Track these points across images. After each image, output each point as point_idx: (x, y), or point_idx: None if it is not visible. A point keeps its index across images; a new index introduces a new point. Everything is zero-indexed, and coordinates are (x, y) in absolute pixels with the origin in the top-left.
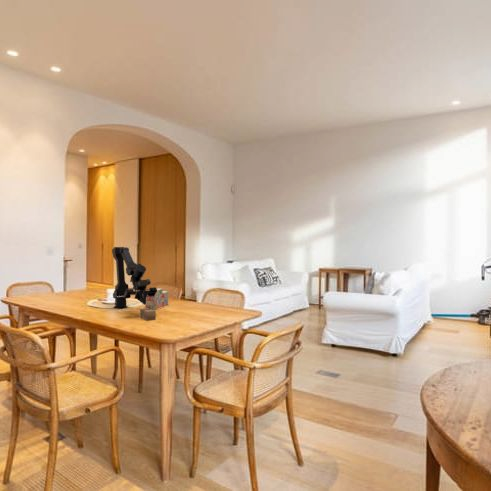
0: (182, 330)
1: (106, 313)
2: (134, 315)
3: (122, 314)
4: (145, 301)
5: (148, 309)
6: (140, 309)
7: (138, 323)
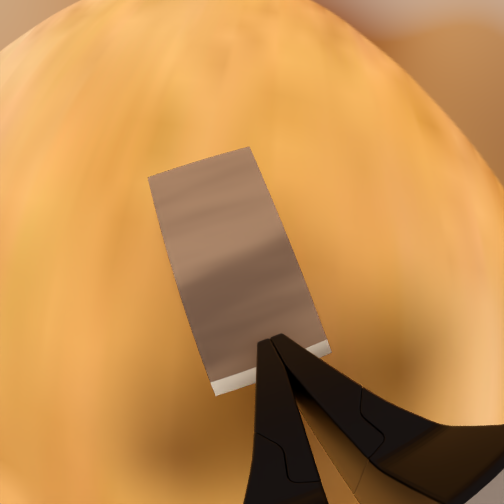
0: (121, 3)
1: None
2: None
3: None
4: (267, 366)
5: (219, 283)
6: (323, 333)
7: (315, 123)
